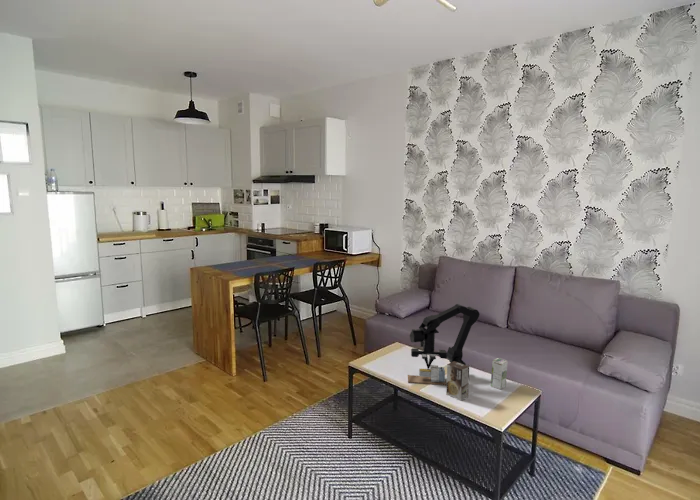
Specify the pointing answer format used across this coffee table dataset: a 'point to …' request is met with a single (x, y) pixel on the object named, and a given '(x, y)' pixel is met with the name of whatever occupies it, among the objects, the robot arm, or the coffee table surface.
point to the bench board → (423, 380)
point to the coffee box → (457, 380)
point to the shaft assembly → (428, 373)
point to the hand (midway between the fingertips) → (428, 368)
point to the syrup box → (499, 373)
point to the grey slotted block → (434, 373)
